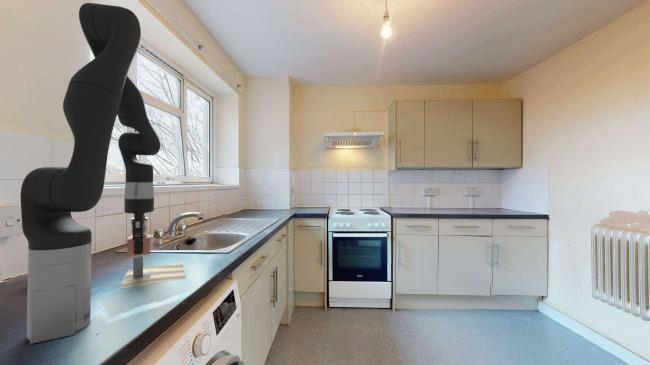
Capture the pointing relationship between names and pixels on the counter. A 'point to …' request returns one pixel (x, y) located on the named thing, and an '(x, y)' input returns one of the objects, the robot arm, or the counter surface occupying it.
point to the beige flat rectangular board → (154, 275)
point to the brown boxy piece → (146, 245)
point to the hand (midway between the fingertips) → (139, 251)
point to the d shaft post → (138, 266)
